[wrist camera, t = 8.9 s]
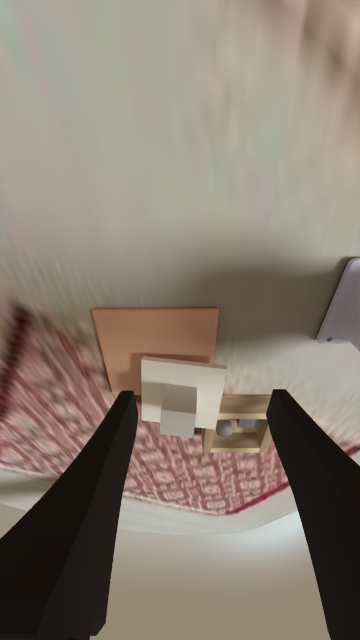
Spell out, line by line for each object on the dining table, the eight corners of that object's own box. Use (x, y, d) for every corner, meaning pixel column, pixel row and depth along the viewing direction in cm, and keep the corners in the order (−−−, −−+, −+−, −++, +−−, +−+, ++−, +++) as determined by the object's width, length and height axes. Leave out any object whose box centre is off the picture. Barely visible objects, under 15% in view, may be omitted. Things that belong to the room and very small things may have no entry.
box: (273, 394, 25) (282, 413, 23) (260, 433, 29) (266, 452, 27) (204, 394, 25) (207, 413, 23) (201, 433, 29) (203, 452, 27)
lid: (225, 360, 21) (231, 395, 17) (214, 418, 24) (217, 459, 20) (144, 351, 21) (130, 383, 17) (144, 410, 25) (133, 448, 21)
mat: (218, 308, 19) (219, 310, 19) (209, 392, 25) (209, 394, 24) (93, 308, 19) (91, 310, 19) (113, 392, 25) (113, 395, 25)
